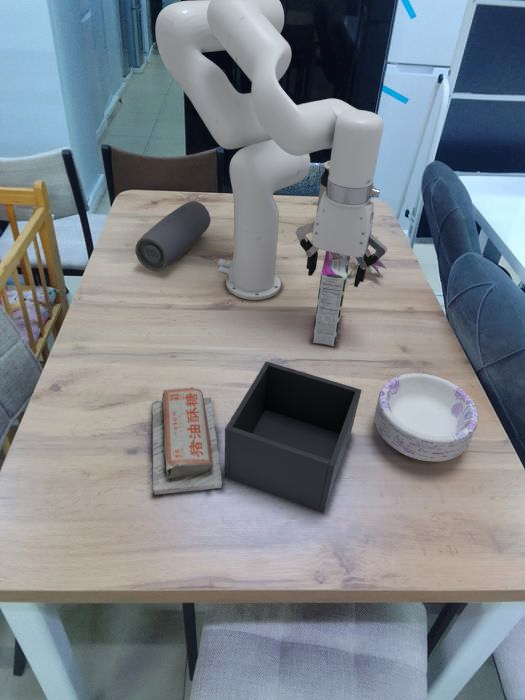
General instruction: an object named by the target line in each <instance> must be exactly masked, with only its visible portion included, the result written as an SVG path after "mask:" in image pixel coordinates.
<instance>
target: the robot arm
mask: <svg viewBox="0 0 525 700" xmlns="http://www.w3.org/2000/svg"><path fill="white" fill-rule="evenodd" d="M284 11H285V10H284V8H283V4H282V2H281V1H280V0H183V1H176V2H174V3H171V4H169V5H166V6H165V7H164V8H163V9H161V10H160V12H159V14H158V15H157V18H156V21H155V28H154V29H155V40H156V45H157V49H158V54H159V56H160V59H161V60H162V63H163V65H164V67H165V68H166V70H167V72H168V74H169V75H170V76H171V78H172V79H173V80H174V81H175V82H176V84H177V85H178V86H179V88H180V89H182V90H181V91H183V92H184V94H185V95H186V96H187V98H188V99H189V101H190V103H191V104H192V105H193V107H194V109H195V110H196V111H197V114H198V115H199V117H200V119H201V120H202V121H203V123H204V125H205V127H206V128H207V130H208V132H209V133H210V135H211V136H212V138H213V139H214V141H215V142H216V143H217V144H218V145H219V146H220V147H221V148H222V149H225V150H235V149H238V151H236V153H235V154H234V155H233V156H232V158H231V160H230V163H229V168H228V170H229V179H230V184H231V189H232V197H233V198H232V199H233V253H232V254H233V259H232V261H229V260H226V259H222V258H220V259H218V261H217V267H218V273H221V274H226V275H227V277H226V281H225V285H226V288H227V290H228V292H230V293H231V295H234V296H235V297H238V298H240V299H244V300H248V301H249V300H250V301H261V300H266V299H269V298H272V297H274V296H275V295H277V294H278V293H279V292H280V290H281V286H282V280H281V279H280V277H279V276H278V275H277V274H276V264H277V252H278V251H277V250H278V239H279V238H278V237H279V224H280V210H279V207H278V205H277V203H276V201H275V198H274V193H275V192H277V191H279V190H281V189H284V188H287V187H291V186H293V185H296V184H298V183H300V182H302V181H303V180H304V179H305V178H307V176H308V175H309V173H310V169H311V155H310V154H312V153H315V152H319V151H323V150H329V149H331V154H330V160H329V161H330V168H329V175H328V182H327V190H326V191H325V192H324V193H323V195H322V197H321V200H320V203H319V207H318V210H317V209H316V215H315V218H314V222H312V223H309V224H306V225H303V226H301V227H298V228H297V229H296V230H295V235H296V238H297V240H298V242H299V245H300V246H301V248H302V249H303V250H304V252H305V256H307V260H306V269H307V270H308V273H307V276H309V277H312V276H313V275H314V273H315V272H316V271H317V265H318V258H319V252H318V251H319V250H321V251H325V252H326V251H330V252H334V253H338V254H343V255H347V256H350V257H351V258H355V259H356V262H357V263H358V265H357V267H356V272H355V277H354V282H353V287H354V288H358V287H359V285H360V283H364V280H365V277H366V273H367V268H369V267H370V265H372V264H374V263H376V262H377V261H378V260H380V259H381V258H382V257H383V256H384V255H386V253H387V250H388V247H386V245H385V244H384V243H382V242H381V241H380V240H379V239H378V238H377V237H376V236H374V235H373V234H372V231H373V226H374V225H373V224H374V215H375V200H374V199H373V198H379V196H380V193H381V189H378V188H377V187H375V185H374V183H375V182H374V178H375V174H376V168H377V163H378V157H379V152H380V147H381V142H382V136H383V132H384V131H383V130H384V120H383V118H382V117H381V116H380V115H379V114H377V113H375V112H373V111H368V110H362V109H358V108H356V107H354V106H352V105H350V104H349V103H347V102H346V101H343V100H342V99H338V98H326V99H321V100H315V101H309V102H305V103H300V104H296V103H295V102H294V101H293V99H291V97H290V96H289V95H288V94H287V93H286V91H285V90H284V89H283V88H282V86H281V84H280V83H279V81H280V80H281V79H282V78H283V77H284V75H285V73H286V71H287V70H288V68H289V67H290V64H291V60H292V48H291V46H290V44H289V42H288V41H287V40H286V39H285V37H284V36H282V34H281V33H282V31H283V28H284V25H285V12H284ZM221 51H226V53H228V55H229V56H230V57H231V58H232V59H233V60H234V62H235V63H236V65H237V66H239V68H240V69H241V70H242V72H243V73H244V74H245V76H246V77H247V78H248V79H249V81H250V82H251V91H250V92H249V93H248V92H247V93H240V92H239V91H237V90H236V88H235V87H234V86H233V84H232V83H231V82H230V80H229V78H228V76H227V74H226V73H225V72H224V71H223V70H222V68H221V67H219V66H218V65H217V64H216V63H214V61H212V60H210V59H209V58H207V57H206V56H205V55H203V53H210V52H211V53H212V52H221ZM310 233H312V235H311V240H310V239H309V237H307V235H308V234H310ZM369 247H371V248H372V249H373V250H375V252H373V253H371V255H370V256H368V254H367V252H366V248H368V249H369Z"/></svg>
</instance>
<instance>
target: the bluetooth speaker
mask: <svg viewBox="0 0 525 700" xmlns="http://www.w3.org/2000/svg"><path fill="white" fill-rule="evenodd" d="M211 221H212V220H211V214H210V212H209V211H208V209H207V207H206V206H205V205H204V204H203V203H201V202H199V201H196V200H192V201H188V202H186V203H183V204H181V205H180V206H178V207H177V208H176V209H174V210H173V211H171V212H170V213H169V214H168V215H167V214H166V216H165V217H163V218H162V219H161V220H159V221H158V222H157V223H156V224H155V225H153V226H152V227H151V228H150V229H148V230H147V231H146V232H145V233H144V234H143V235H142V236H141V237H140V238H139V239H138V240H137V243H136V244H135V247H134V249H135V250H134V251H135V255H136V259H137V260H138V261H139V263H140V264H141V265H142V267H144V268H146V269H148V270H151V271H155V272H160V271H162V270H164V269H165V268H167V267H168V266H170V265H172V264H173V263H175V262H176V261H178V260H179V259H180V258H181V257H182V256H183V255H184V254H185V253H186V252H188V251H189V250H190V249H191V248H192V247H193V246H194V244H195V243H197V241H198V240H199V239H200V238H201V237H202V236H203V235H204V234H205V233H206V231H207V230H208V229H209V227H210V225H211Z"/></svg>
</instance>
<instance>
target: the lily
mask: <svg viewBox="0 0 525 700" xmlns="http://www.w3.org/2000/svg"><path fill="white" fill-rule="evenodd" d="M366 252H367V254H368V256H370V255H372V254H373V251H371V250H370V249H369V247H368V248H366ZM358 266H359V264H358V262H357V263H356V264H355V265H354V267H352V270H351V271H350V273H349V275H348V277H349V278H350V277H351V276H352V274H353V272H354V271H355V269H356V268H357V267H358ZM370 266H371V267H372V268H373V269H374V271H375V272H376V273H377V274H378V275H379V277H382V275H381V272H380V270H379V267H380V268H382V269H385V270H387V267H386V266H385V264H384V263H382V261H381V260H380V259H379V260H378V261H377V262H376V263H374V264H372V265H370ZM370 266H369V267H370Z"/></svg>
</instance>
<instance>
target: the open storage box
mask: <svg viewBox="0 0 525 700" xmlns="http://www.w3.org/2000/svg"><path fill="white" fill-rule="evenodd" d="M361 394H362V389H361V388H357V387H354V386H351V385H347V384H344V383H341V382H337V381H334V380H331V379H328V378H324V377H320V376H317V375H314V374H311V373H306V372H303V371H301V370H297V369H294V368H290V367H287V366H284V365H282V364H281V365H280V364H277V363H273V362H270V361H267V360H266V361H264V363H263V365H262V367H261V369H260V370H259V372H258V374H257V375H256V377H255V379H254V380H253V382H252V384H251V385H250V387H249V388H248V390H247V392H246V393H245V395H244V397H243V398H242V400H241V401H240V403H239V404H238V407H237V408H236V410H235V412H234V413H233V414H232V416H231V418H230V420H229V421H228V423H227V424H226V426H225V428H224V477H227V478H229V479H231V480H235V481H238V482H240V483H242V484H245V485H249V486H251V487H254V488H256V489H259V490H261V491H264V492H267V493H270V494H271V495H275V496H278V497H281V498H283V499H286V500H288V501H292V502H294V503H297V504H300V505H302V506H305V507H307V508H310V509H313V510H317V511H319V512H321V513H325V511H326V508H327V506H328V502H329V499H330V497H331V493H332V490H333V488H334V486H335V482H336V479H337V476H338V474H339V470H340V467H341V465H342V461H343V458H344V456H345V452H346V450H347V447H348V444H349V442H350V438H351V436H352V431H353V427H354V423H355V419H356V414H357V411H358V407H359V402H360V399H361Z"/></svg>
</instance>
